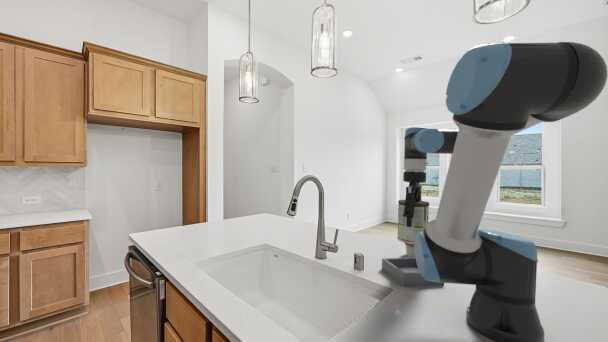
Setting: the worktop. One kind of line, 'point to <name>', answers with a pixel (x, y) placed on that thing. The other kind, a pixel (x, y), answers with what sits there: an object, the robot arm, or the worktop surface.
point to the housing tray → (405, 271)
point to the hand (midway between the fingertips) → (412, 232)
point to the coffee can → (419, 220)
